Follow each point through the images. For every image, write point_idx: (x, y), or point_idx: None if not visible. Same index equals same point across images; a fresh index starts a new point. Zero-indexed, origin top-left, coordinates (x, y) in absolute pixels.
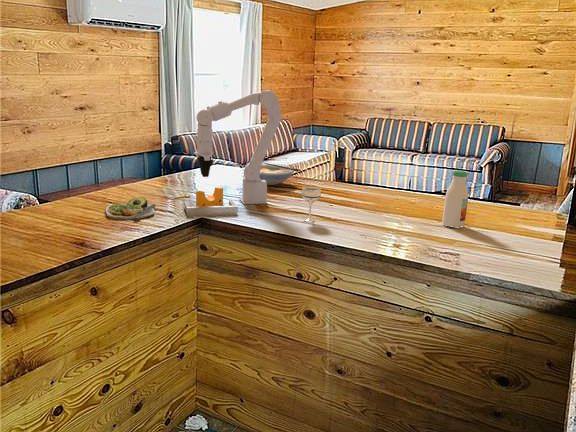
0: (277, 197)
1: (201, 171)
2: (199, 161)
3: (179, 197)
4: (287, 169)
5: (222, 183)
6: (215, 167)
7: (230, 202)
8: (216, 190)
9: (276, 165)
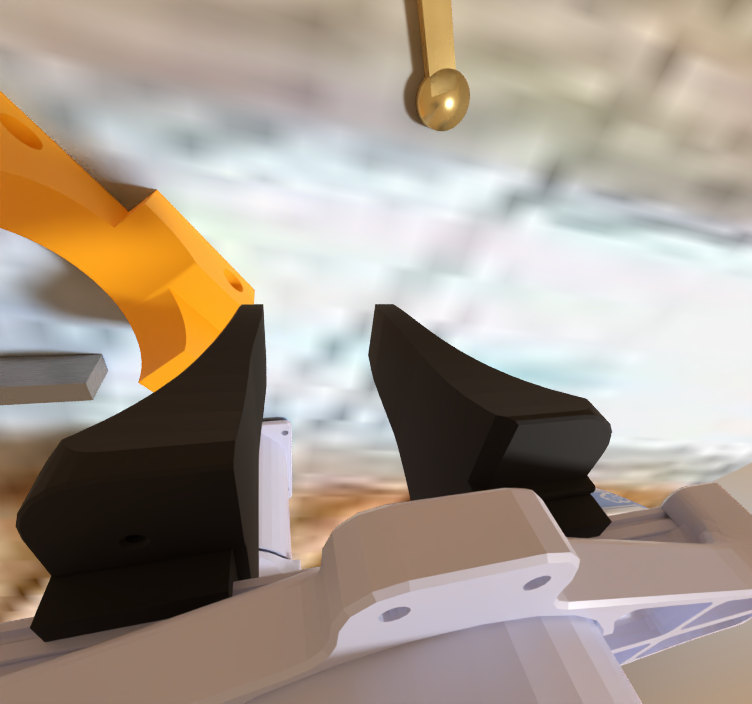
0: (315, 530)
1: (388, 324)
2: (54, 450)
3: (419, 1)
4: None
5: (640, 374)
6: None
7: (7, 386)
8: (166, 347)
9: None
